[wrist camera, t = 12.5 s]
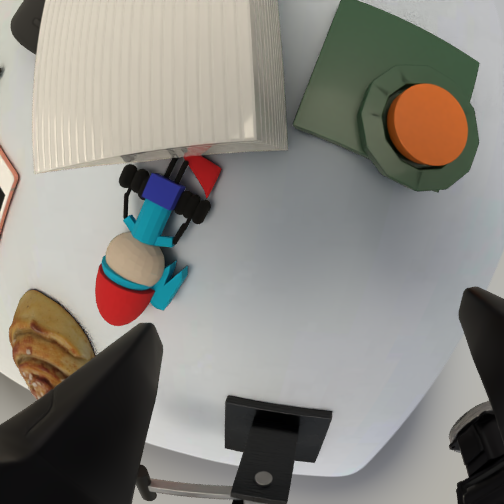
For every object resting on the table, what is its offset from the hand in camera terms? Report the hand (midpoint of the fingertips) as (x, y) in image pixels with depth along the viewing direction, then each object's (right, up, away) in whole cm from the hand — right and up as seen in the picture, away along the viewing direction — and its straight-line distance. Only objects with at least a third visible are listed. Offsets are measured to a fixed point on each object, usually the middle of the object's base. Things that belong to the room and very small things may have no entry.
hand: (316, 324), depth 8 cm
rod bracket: (+1, -16, +20) cm, 26 cm away
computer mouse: (-23, +26, +12) cm, 36 cm away
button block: (+7, +13, +9) cm, 17 cm away
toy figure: (-9, +3, +16) cm, 19 cm away
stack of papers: (-5, +24, +8) cm, 26 cm away
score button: (+8, +9, +7) cm, 14 cm away
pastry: (-25, -9, +24) cm, 35 cm away
